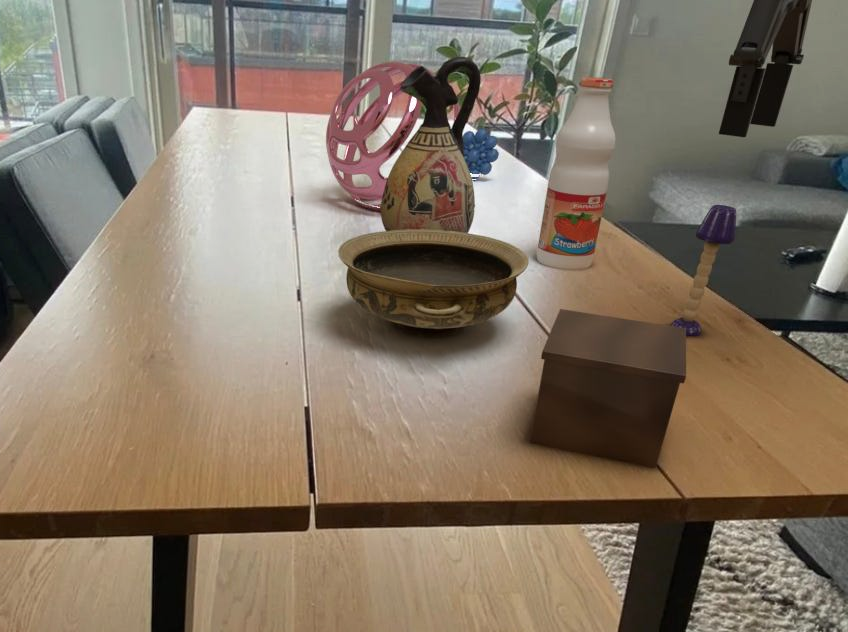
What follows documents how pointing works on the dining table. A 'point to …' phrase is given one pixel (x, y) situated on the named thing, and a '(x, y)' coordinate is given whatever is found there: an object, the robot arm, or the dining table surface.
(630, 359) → the brown wooden box
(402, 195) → the ceramic jug
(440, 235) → the ceramic bowl
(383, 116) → the spiral basket
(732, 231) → the toy lamp
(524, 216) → the dining table surface
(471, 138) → the grapes
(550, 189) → the fruit juice
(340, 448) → the dining table surface
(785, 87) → the robot arm
